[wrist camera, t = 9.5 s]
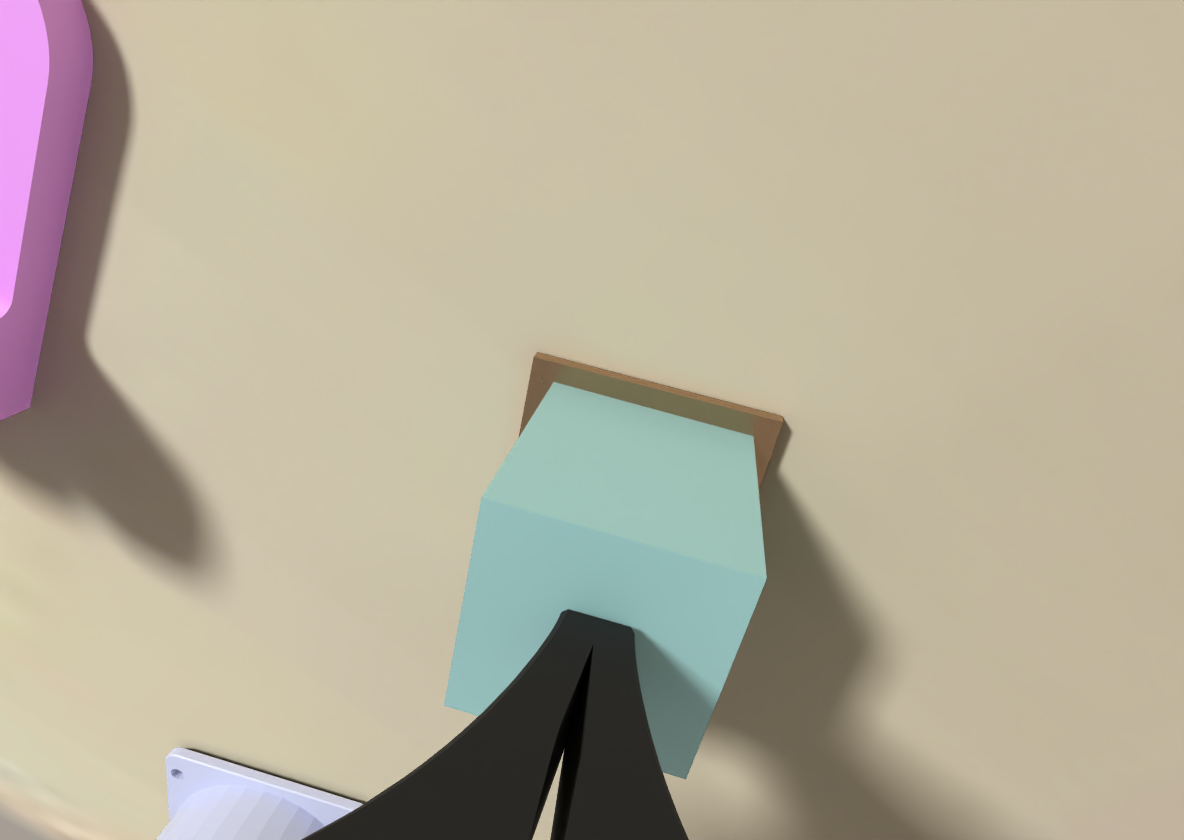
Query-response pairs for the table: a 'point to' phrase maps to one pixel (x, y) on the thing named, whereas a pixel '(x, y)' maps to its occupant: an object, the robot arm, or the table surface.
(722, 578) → the teal cube
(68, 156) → the bracket
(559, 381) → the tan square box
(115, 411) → the table surface
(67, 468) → the table surface
